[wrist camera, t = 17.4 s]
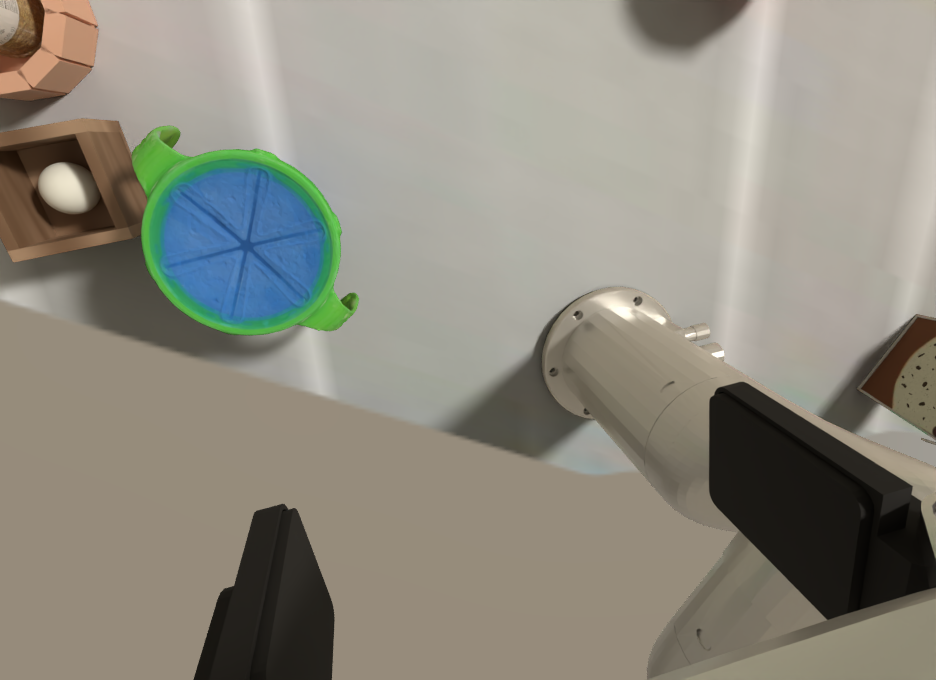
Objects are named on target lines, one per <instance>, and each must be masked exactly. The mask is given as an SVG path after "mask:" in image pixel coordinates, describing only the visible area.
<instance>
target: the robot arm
mask: <svg viewBox="0 0 936 680" xmlns="http://www.w3.org/2000/svg"><path fill="white" fill-rule="evenodd" d="M634 298H635V299H634ZM576 311H577V313H576V314H575V315H574V313H575V312H576ZM709 336H710V329H709V327H708V325H707V324H706V323H701V324H697V325H693V326H690V327H688V328H684V329H682V328H681V327H679V326H677V325H675V324H674V323H672V321H671V318H670V316H669V314H668V313H667V311H666V310H665V309H664V307H663V306H662V305H661V304H660V303H659V302H658V301H656V300H655V299H654V298H652V297H651V296H649V295H647V294H645V293H643V292H641V291H638V290H636V289H632V288H626V287H608V288H604V289H600V290H596V291H594V292H591V293H589V294H587V295H584V296H583V297H581V298H580V299H578V300H577V301H575V302H574V303H572V304H571V305H570V306H569V307H568V308H567V309H566V310H565V311H563V312H562V313H561V315H560V316H559V317H558V319H557V320H556V321H555V323H554V324H553V326H552V328H551V330H550V331H549V333H548V335H547V338H546V341H545V344H544V347H543V354H542V372H543V376H544V380H545V383H546V385H547V387H548V389H549V391H550V393H551V394H552V395H553V397H554V398H555V399H556V401H557V402H558V403H559V404H560V405H561V406H563V407H564V408H565V409H566V410H568V411H570V412H571V413H573V414H575V415H577V416H581V417H584V418H590V419H595V420H596V421H597V422H598V423H599V425H600V426H601V427H602V428H603V429H604V430H605V432H606V433H607V434H608V435H609V436H610V437H611V439H612V440H613V441H614V442H615V443H616V444H617V446H618V447H619V448H620V449H621V450H622V451H623V453H624V454H625V455H626V456H627V457H628V458H629V460H630V461H631V462H632V463H633V464H634V465H635V467H636V468H637V469H638V470H639V471H640V472H641V474H642V475H643V476H644V477H645V478H646V479H647V481H648V482H649V483H650V484H651V485H652V486H653V487H654V488H655V490H656V491H657V492H658V493H659V494H660V496H662V498H663V499H664V500H665V501H666V502H667V503H668V504H669V505H670V506H671V507H672V508H673V509H674V510H676V511H677V512H679V513H680V514H681V515H683V516H684V517H686V518H688V519H690V520H693V521H695V522H697V523H699V524H702V525H705V526H708V527H712V528H716V529H720V530H725V531H732V532H738V533H737V534H736V536H735V537H734V538H733V540H732V541H731V542H730V544H729V545H728V546H727V548H726V549H725V550H724V552H723V555H722V557H721V558H720V559H719V560H718V561H717V563H716V564H715V565H714V566H713V568H712V569H711V570H710V571H709V573H708V574H707V575H706V576H705V578H704V579H703V580H702V581H701V582H700V584H699V585H698V586H697V587H696V589H695V590H694V591H693V592H692V594H691V595H690V596H689V597H688V598H687V600H686V601H685V602H684V604H683V605H682V606H681V607H680V608H679V610H678V611H677V612H676V613H675V615H674V616H673V617H672V618H671V620H670V621H669V622H668V624H667V625H666V627H665V628H664V629H663V631H662V632H661V634H660V635H659V637H658V638H657V640H656V642H655V644H654V645H653V648H652V651H651V653H650V656H649V660H648V666H647V680H936V467H934V466H932V465H929V464H927V463H925V462H922V461H919V460H917V459H915V458H912V457H910V456H907V455H905V454H902V453H900V452H897V451H895V450H892V449H890V448H887V447H885V446H883V445H880V444H878V443H875V442H873V441H870V440H868V439H866V438H863V437H861V436H858V435H856V434H854V433H851V432H849V431H847V430H845V429H843V428H841V427H838V426H836V425H834V424H832V423H830V422H827V421H825V420H824V419H822V418H820V417H818V416H816V415H814V414H812V413H811V412H809V411H807V410H805V409H803V408H802V407H800V406H798V405H796V404H794V403H792V402H791V401H789V400H787V399H785V398H783V397H782V396H780V395H778V394H777V393H775V392H773V391H772V390H770V389H768V388H767V387H765V386H763V385H762V384H760V383H758V382H756V381H755V380H753V379H752V378H750V377H748V376H747V375H745V374H743V373H742V372H740V371H738V370H737V369H735V368H733V367H732V366H730V365H728V364H727V363H725V362H723V361H724V351H723V349H722V347H721V346H720V345H719V344H718V343H711V344H707V345H703V346H699V347H698V346H697V345H695V344H694V343H692V342H691V341H698V340H702V339H706V338H708V337H709ZM552 368H553V369H552ZM551 369H552V370H551ZM333 639H334V609H333V604H332V601H331V598H330V595H329V593H328V590H327V587H326V585H325V582H324V579H323V577H322V574H321V572H320V569H319V566H318V563H317V561H316V558H315V555H314V553H313V550H312V548H311V545H310V542H309V540H308V537H307V534H306V532H305V529H304V526H303V524H302V521H301V518H300V516H299V513H298V511H297V510H296V509H295V508H293V509H290V510H288V508H287V507H286V506H285V504H281V505H277V506H273V507H270V508H266V509H262V510H258V511H256V512H255V513H254V516H253V519H252V522H251V527H250V530H249V533H248V537H247V541H246V545H245V548H244V552H243V555H242V559H241V563H240V567H239V570H238V574H237V577H236V581H235V585H234V586H232V587H229V588H225V589H224V590H223V591H222V592H221V593H220V595H219V598H218V600H217V603H216V607H215V610H214V613H213V617H212V620H211V623H210V627H209V630H208V633H207V637H206V640H205V643H204V647H203V650H202V653H201V657H200V660H199V663H198V667H197V670H196V673H195V677H194V680H332V662H333Z"/></svg>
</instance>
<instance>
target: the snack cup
mask: <svg viewBox="0 0 936 680" xmlns="http://www.w3.org/2000/svg"><path fill="white" fill-rule="evenodd" d="M179 137H180V131H179V129H178V128H176V127H174V126H162V127H158V128H156V129H154V130H152V131H151V132H150V133H149V134H148V135H147V136H146V138H145V139H143V140H142V142H141V144H139V145H138V146H137V147H136V148H135V149H134V151H133V152H132V165H133V168H134V171H135V173H136V176H137V178H138V180H139V182H140V184H141V186H142V188H143V190H144V191H145V194H146V196H147V205H146V207H145V210H144V214H143V219H142V227H141V242H142V249H143V253H144V257H145V261H146V263H145V265H146V267H147V270H148V272H149V274H150V275H151V277H152V279H153V280H155V282H156V284H157V285H158V287H159V289H160V290H161V291H162V292H163V294H164V295H165V296H166V297H167V298H168V300H169V301H170V302H171V303H172V304H173V305H175V306H176V307H177V308H178V309H179V310H180V311H182V312H183V313H184V314H186V315H187V316H189V317H190V318H192V319H194V320H196V321H197V322H199V323H201V324H203V325H206V326H208V327H210V328H213V329H216V330H219V331H221V332H224V333H227V334H232V335H263V334H270V333H274V332H278V331H281V330H284V329H287V328H289V327H292V326H294V325H301V326H306V327H309V328H313V329H316V330H318V331H319V330H324V331H333V330H337V329H338V328H339V327H341V326H342V324H343V323H344V322H346V321H347V319H348V318H350V317H351V316H352V315H353V313H354V312H355V311H356V309H357V306H358V301H359V298H358V296H357V294H356V293H349V294H348V295H347V296H345V297H344V298H343V299H342V300H341V301H340V300H339V299H338V297H337V295H336V294H335V292H334V289H333V286H334V282H335V279H336V276H337V273H338V269H339V263H340V256H341V245H340V235H341V233H342V231H341V227H340V224H339V221H338V218H337V216H336V215H335V214H334V213H333V212H332V210H331V208H330V206H329V204H328V203H327V201H326V200H325V198H324V196H323V195H322V193H321V192H320V191H319V190H318V188H317V187H316V186H315V185H314V184H313V182H311V181H310V180H309V179H308V178H307V177H306V176H305V175H303V174H302V173H301V172H300V171H298V170H297V169H296V168H294V167H292V166H291V165H289V164H287V163H285V162H283V161H281V160H280V159H278V158H277V157H276V155H274V154H272V153H269V152H266V151H263V150H260V149H253V150H250V151H249V150H240V149H235V150H219V151H213V152H207V153H204V154H201V155H198V156H195V157H188V156H184V155H182V154H180V153H178V152H177V151H175V150H173V149H172V148H173V147H174V145H175V144H176V143H177V141H178V139H179Z"/></svg>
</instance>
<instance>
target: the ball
mask: <svg viewBox="0 0 936 680" xmlns="http://www.w3.org/2000/svg"><path fill="white" fill-rule="evenodd" d="M38 189H39V192H40V194H41V196H42V198H43V199H44V200H45V202H46V203H47V204H48V205H50V206H51V207H52V208H54V209H56V210H58V211H60V212H63V213H67V214H82V213H85V212H88V211H90V210H91V209H93V208H94V207H95V206H96V205H97V203H98V202H99V199H100V195H101V193H100V191H99V188H98V186H97V184H96V181H95V179H94V177H93V174H92V173H91V172H90V171H88V170H87V169H85V168H84V167H82V166H80V165H77V164H74V163H69V162H60V163H55V164H52V165H50V166H48V167H46V168H45V169H44V170H43V171H42V173H41V174H40V176H39V179H38Z"/></svg>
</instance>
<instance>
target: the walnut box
mask: <svg viewBox="0 0 936 680" xmlns="http://www.w3.org/2000/svg"><path fill="white" fill-rule="evenodd" d="M60 162H69V163H74V164H77V165H80V166H82V167H84V168H85V169H87V170H88V171H90V172H91V173H92V174H93V177H94V179H95V181H96V184H97V186H98V188H99V191H100V193H101V195H100V199H99V202H98V203H97V205H96V206H95V207H94V208H93V209H91V210H90V211H88V212H85V213H82V214H67V213H63V212H60V211H58V210H56V209H54V208H52V207H51V206H50V205H48V204H47V203H46V202H45V200H44V199H43V198H42V196H41V194H40V192H39V189H38V179H39V176H40V174H41V173H42V171H43V170H44V169H45V168H46V167H48V166H50V165H52V164H55V163H60ZM146 205H147V196H146V194H145V191H144V190H143V188H142V186H141V184H140V182H139V180H138V178H137V176H136V173H135V171H134V168H133V165H132V154H131V152H130V149H129V147H128V144H127V142H126V139H125V137H124V134H123V132H122V129H121V127H120V124H119V122H118V121H109V120H96V119H83V118H82V119H76V120H70V121H65V122H59V123H53V124H47V125H42V126H36V127H30V128H24V129H19V130H13V131H7V132H1V133H0V238H1V240H2V242H3V244H4V246H5V248H6V250H7V252H8V254H9V255H10V257H11V259H12V261H13V262H18V261H23V260H28V259H33V258H38V257H43V256H48V255H53V254H58V253H63V252H68V251H73V250H78V249H83V248H88V247H92V246H97V245H102V244H107V243H112V242H117V241H122V240H127V239H132V238H135V237H137V236H139V235H141V227H142V219H143V214H144V210H145V207H146Z"/></svg>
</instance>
